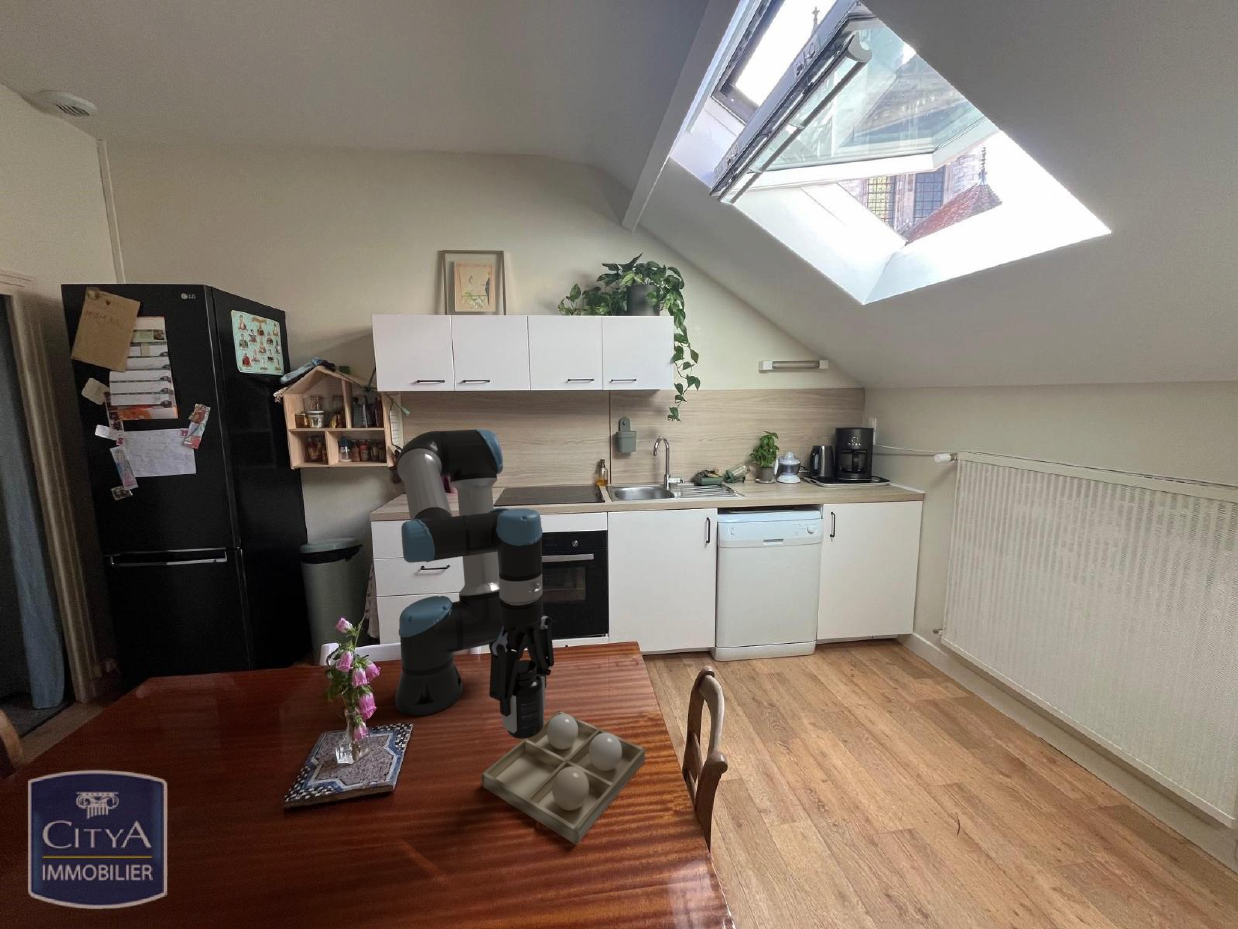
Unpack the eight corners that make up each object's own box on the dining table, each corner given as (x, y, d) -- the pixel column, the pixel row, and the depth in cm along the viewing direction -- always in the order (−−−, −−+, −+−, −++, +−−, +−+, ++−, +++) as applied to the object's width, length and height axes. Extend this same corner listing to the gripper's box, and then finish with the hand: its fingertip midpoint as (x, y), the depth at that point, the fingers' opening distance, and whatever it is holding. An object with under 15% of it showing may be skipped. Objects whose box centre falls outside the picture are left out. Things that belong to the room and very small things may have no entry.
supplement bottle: (548, 717, 92) (546, 657, 91) (538, 742, 86) (537, 678, 84) (512, 715, 93) (510, 655, 92) (500, 739, 86) (498, 675, 85)
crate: (482, 791, 89) (481, 773, 89) (559, 725, 107) (559, 710, 107) (576, 850, 78) (576, 831, 77) (645, 765, 96) (645, 749, 95)
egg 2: (544, 809, 84) (544, 775, 83) (568, 785, 90) (567, 753, 89) (573, 827, 81) (573, 791, 80) (596, 800, 86) (596, 767, 85)
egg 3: (582, 770, 93) (581, 739, 92) (601, 750, 98) (601, 721, 97) (609, 785, 90) (609, 753, 89) (628, 763, 95) (628, 733, 94)
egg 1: (540, 749, 99) (539, 719, 98) (560, 731, 104) (560, 703, 103) (564, 761, 95) (564, 731, 94) (584, 742, 101) (584, 714, 100)
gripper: (494, 623, 76) (498, 758, 79) (572, 584, 92) (574, 697, 95) (462, 612, 80) (467, 741, 83) (543, 576, 96) (545, 685, 99)
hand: (524, 717), depth 89 cm, fingers closed on supplement bottle, 7 cm apart
